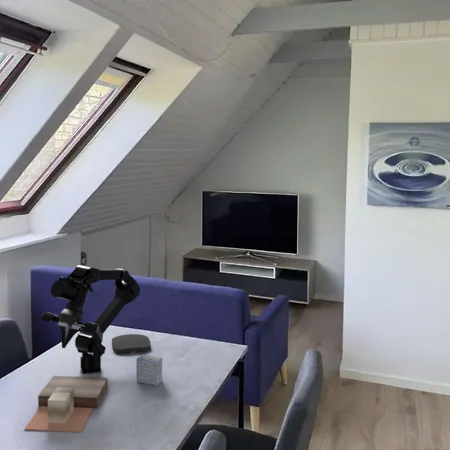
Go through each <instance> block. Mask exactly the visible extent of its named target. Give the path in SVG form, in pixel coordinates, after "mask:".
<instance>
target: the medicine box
mask: <svg viewBox="0 0 450 450" xmlns="http://www.w3.org/2000/svg"><path fill="white" fill-rule="evenodd" d="M135 369H136V375H135V376H136V380H135V381H136V383H140V384H146V385H150V386H157V387H158V386H159V384H160V383H162V382H163V357H160V356H155V355H151V354H143V353H142V354H141V355H139V356H138V357H137V358H136V367H135Z"/></svg>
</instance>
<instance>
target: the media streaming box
mask: <svg viewBox="0 0 450 450" xmlns="http://www.w3.org/2000/svg"><path fill="white" fill-rule="evenodd" d="M151 346H152V345H151V341H150V339H149V337H148V336H147V335H144V334H139V333H138V334H137V333H134V334H133V333H132V334H131V333H130V334H121V335H117V336H115V337H113V338H111V348H112V351H113V353H115V354H117V355H118V354H119V355H127V354H128V355H129V354H130V355H131V354H139V353H142V354H143V353H146V352H149V351H151Z"/></svg>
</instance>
